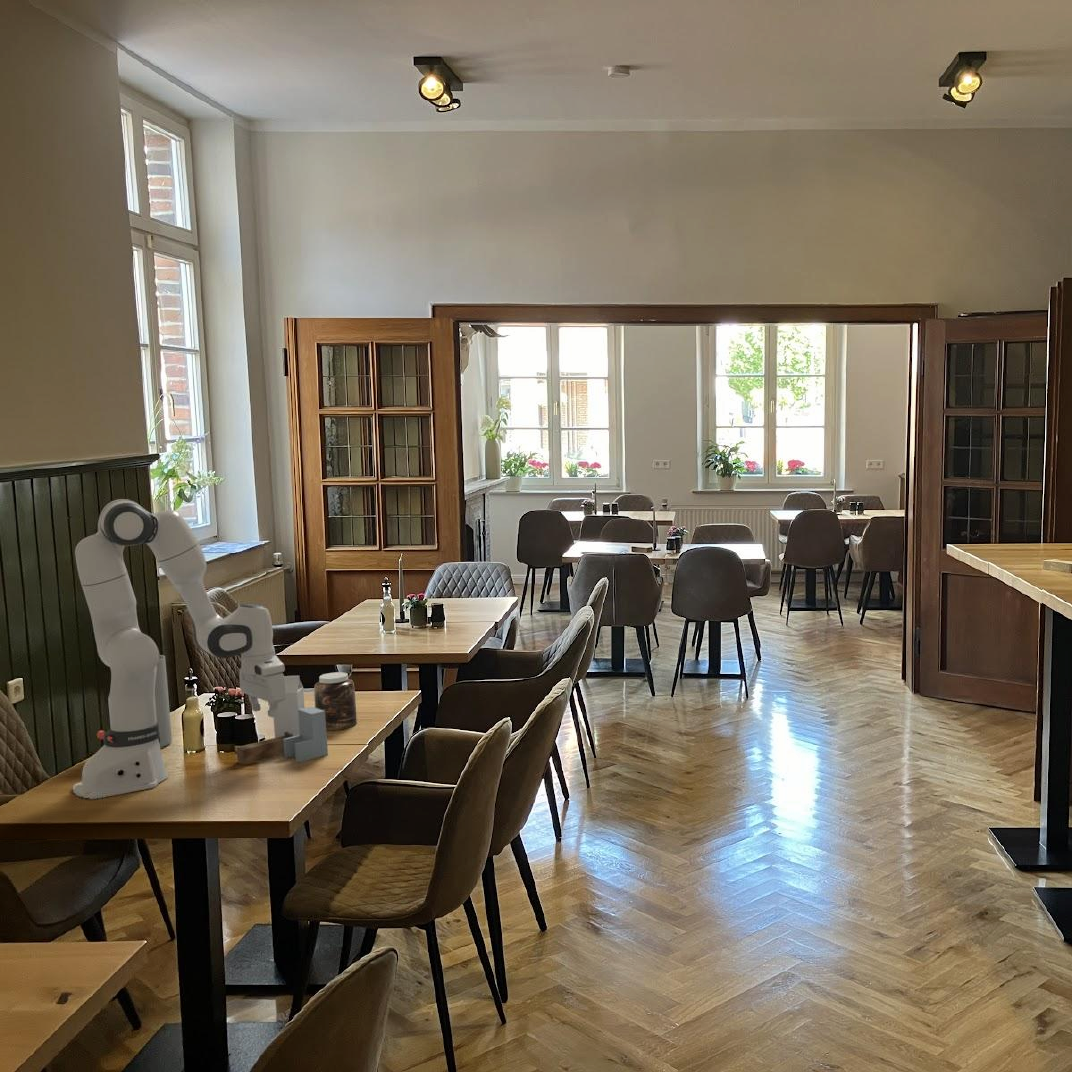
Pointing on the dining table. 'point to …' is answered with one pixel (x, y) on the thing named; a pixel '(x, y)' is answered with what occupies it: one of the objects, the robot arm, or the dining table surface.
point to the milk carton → (289, 708)
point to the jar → (336, 700)
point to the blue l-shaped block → (308, 736)
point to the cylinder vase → (162, 703)
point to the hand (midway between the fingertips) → (264, 713)
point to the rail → (262, 750)
